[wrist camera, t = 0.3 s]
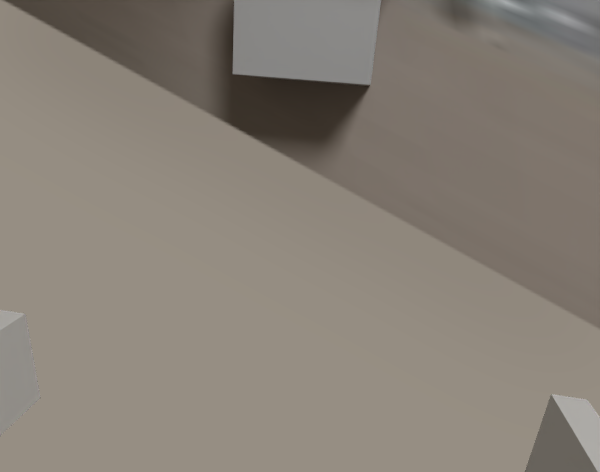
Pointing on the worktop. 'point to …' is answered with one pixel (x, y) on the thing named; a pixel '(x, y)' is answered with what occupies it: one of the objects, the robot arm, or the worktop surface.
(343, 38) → the stone plinth
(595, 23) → the worktop surface
